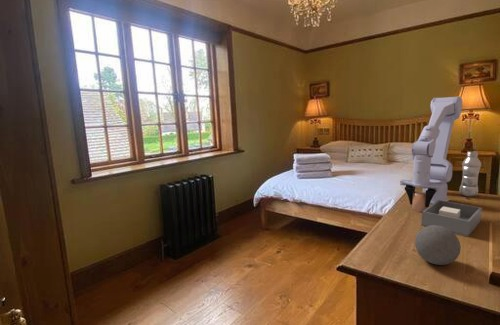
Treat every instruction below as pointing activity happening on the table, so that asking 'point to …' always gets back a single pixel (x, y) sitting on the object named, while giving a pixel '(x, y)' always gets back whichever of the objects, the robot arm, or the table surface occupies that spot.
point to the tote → (462, 226)
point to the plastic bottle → (470, 174)
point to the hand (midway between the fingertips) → (419, 205)
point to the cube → (450, 212)
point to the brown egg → (419, 201)
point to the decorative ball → (437, 245)
